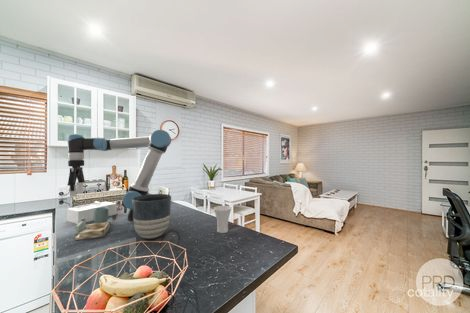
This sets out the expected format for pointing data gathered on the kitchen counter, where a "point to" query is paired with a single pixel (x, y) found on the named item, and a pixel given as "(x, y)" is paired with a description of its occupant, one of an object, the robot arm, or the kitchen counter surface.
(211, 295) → the kitchen counter surface
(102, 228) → the tray
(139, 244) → the kitchen counter surface
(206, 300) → the kitchen counter surface
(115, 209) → the tissue box
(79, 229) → the gate
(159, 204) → the planter
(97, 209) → the cup
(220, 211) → the cup
